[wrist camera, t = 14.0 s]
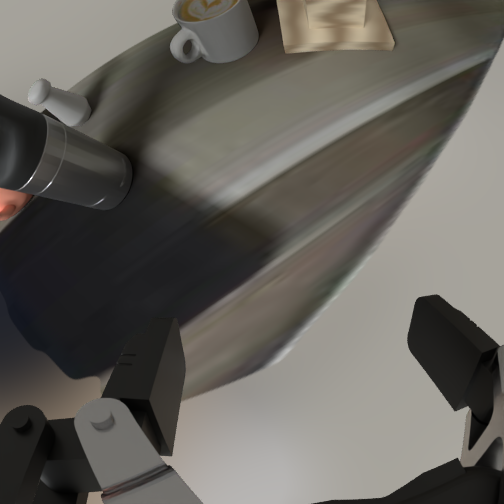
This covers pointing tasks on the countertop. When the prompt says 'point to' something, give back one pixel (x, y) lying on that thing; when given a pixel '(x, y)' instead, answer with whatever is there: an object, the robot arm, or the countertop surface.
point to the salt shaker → (60, 103)
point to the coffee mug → (214, 30)
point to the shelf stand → (333, 25)
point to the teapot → (12, 202)
